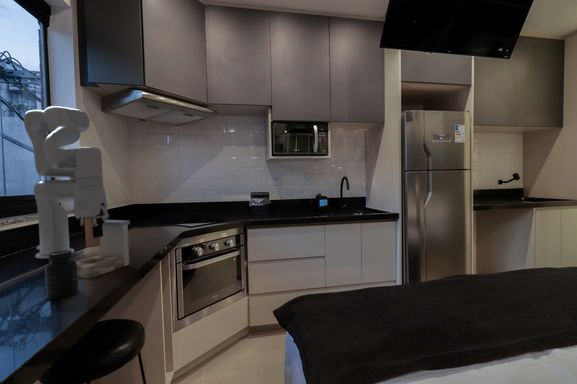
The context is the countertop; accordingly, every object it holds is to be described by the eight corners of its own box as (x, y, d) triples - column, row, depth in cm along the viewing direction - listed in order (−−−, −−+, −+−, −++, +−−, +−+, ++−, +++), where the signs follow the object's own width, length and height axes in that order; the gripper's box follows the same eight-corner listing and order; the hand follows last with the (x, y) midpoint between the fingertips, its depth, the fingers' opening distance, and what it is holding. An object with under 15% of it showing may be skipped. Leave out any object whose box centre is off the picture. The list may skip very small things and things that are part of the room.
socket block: (63, 275, 94) (62, 264, 94) (96, 264, 106) (96, 255, 105) (90, 278, 91) (90, 267, 90) (122, 266, 102) (121, 257, 102)
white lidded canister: (95, 264, 105) (93, 221, 104) (106, 261, 109) (104, 219, 109) (121, 267, 102) (119, 222, 101) (131, 263, 106) (129, 220, 105)
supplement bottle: (67, 289, 82) (64, 248, 81) (84, 291, 80) (82, 249, 79) (40, 298, 75) (37, 254, 75) (58, 301, 74) (56, 256, 73)
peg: (83, 247, 96) (81, 211, 95) (94, 244, 100) (92, 210, 99) (92, 247, 95) (90, 211, 94) (103, 244, 99) (101, 210, 98)
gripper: (60, 184, 95) (63, 238, 96) (98, 183, 91) (101, 240, 91) (82, 184, 102) (85, 234, 103) (118, 182, 98) (121, 235, 98)
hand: (92, 236), depth 97 cm, fingers closed on peg, 4 cm apart
